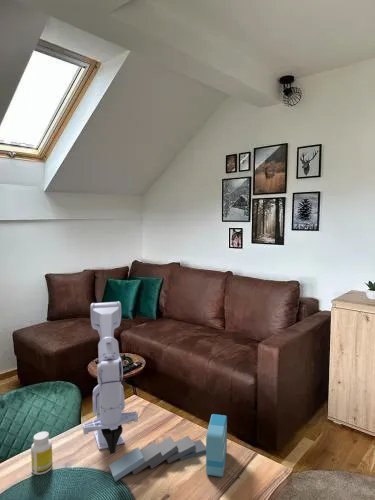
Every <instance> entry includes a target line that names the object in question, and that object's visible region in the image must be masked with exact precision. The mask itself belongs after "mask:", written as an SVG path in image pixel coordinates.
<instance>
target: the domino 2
mask: <svg viewBox="0 0 375 500" xmlns="http://www.w3.org/2000/svg"><path fill="white" fill-rule="evenodd" d="M175 442H176V441H174V439H173V438H172V437H171V436H170V435H169V436H168V437H166V438H165V439H164V440H162V441H160V442H159V443H158V444H156V445H157V446H158V448H159V450H160V451H161V454H162V457H160V458H159V459H158V460H156V461H155V462H153V463H152V464H150V465H149V467H150V469H151V470H153V469H154V468H155V467H157V466H158V465H160V464H161V463H162V462H164V461H165V460H166V459H167V458H168V457H169V456H171V455H172V454H174V453H175V452H176V451H178V450H179V449H178V447H177V445H176V444H175Z"/></svg>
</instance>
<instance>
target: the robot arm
mask: <svg viewBox="0 0 375 500" xmlns="http://www.w3.org/2000/svg"><path fill="white" fill-rule="evenodd" d="M89 308H90V321H91V322H90V323H91V327H92V329H93V330H96V331H97V332H98V335H99V342H98V344H97V348H98V350H97V351H98V353H97V354H98V364H97V366H96V367H97V368H96V369H97V383H98V384H97V385H96V386H95V387H94V388H93V390H92V414H93V415H94V416H96V418H95V419H93V420H90V421H89V422H86V423H83V424H82V431H83V435H84V436H85V435H88V434H89V433H91V432H93V434H94V439H95V441H96V445H97V448H98V450H99V451H100V450H104V449H105V450H106V449H107V448H108V453H109V455H113V454H116V449H117V446H119V445H122V444H125V439H124V437H123V434H122V433H123V426H122V425H123V424H126V423H127V424H128V423H132V422H134V423H137V422H139V414H138V413H137V411H132V412H124V410H125V409H126V407H125V404H126V402H125V399H126V398H125V392H124V386H123V385H122V381H123V378H124V372H123V371H124V370H123V369H124V368H123V362H122V357H121V355H120V349H119V341H118V340H117V339H116V338H115V336H114V335H115V334H114V333H115V329H117V328H119V327H120V324H121V321H122V303H121V301H119V300H118V301H110V302H109V301H108V302H107V301H106V302H92V303H91V304H90V307H89Z"/></svg>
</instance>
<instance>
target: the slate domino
mask: <svg viewBox="0 0 375 500" xmlns="http://www.w3.org/2000/svg"><path fill="white" fill-rule="evenodd" d="M144 462H145V460H144V457H143V455H142V453H141V450H140V447H139V446H137V447H135V448H134V449H133V450H130V451H129V452H127V453H126V454H125V455H122V456H121V457H120V458H118V459H116V460H115V461H113V462H112V463H110V464H109V469H110V472H111V474H112V478H113V480H114V482H117V481H118V480H120V479H122V478H123V477H124V476H126V475H128V474H129V473H131V472H132V470H134V469H135V468H137V467H138V466H140V465H141V464H143V463H144Z"/></svg>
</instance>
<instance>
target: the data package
mask: <svg viewBox="0 0 375 500" xmlns="http://www.w3.org/2000/svg"><path fill="white" fill-rule="evenodd" d="M208 423H209V424H208V427H207V431H206V436H205V437H206V439H205V446H206V453H205V466H206V467H205V472H206V475H207V476H213V477H220V478H223V476H224V471H225V465H226V457H227V449H228V448H227V447H228V440H227V439H228V435H227V434H228V425H227V424H228V416H227V415H224V414H223V415H222V414H216V413H215V414H214V413H212V414H211V416H210V420H209V422H208Z"/></svg>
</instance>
